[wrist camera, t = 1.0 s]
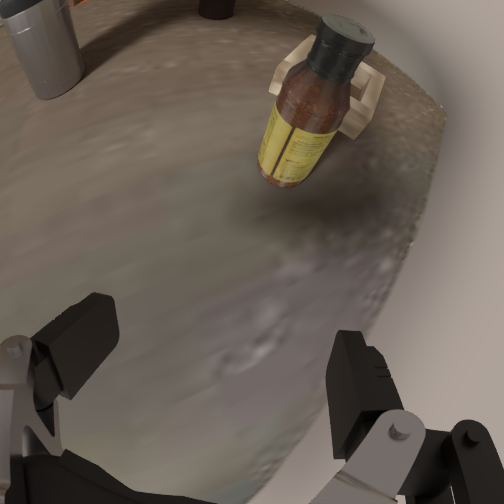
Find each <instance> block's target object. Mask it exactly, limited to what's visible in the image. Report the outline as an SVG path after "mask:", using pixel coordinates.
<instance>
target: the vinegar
mask: <svg viewBox="0 0 504 504" xmlns="http://www.w3.org/2000/svg"><path fill="white" fill-rule="evenodd" d="M235 1H236V0H200V4H199V14H200V15H201V16H202V17H205V18H208V19H217V20H218V19H226V18H228V17H231V15H232V14H233V10H234V5H235Z"/></svg>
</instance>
